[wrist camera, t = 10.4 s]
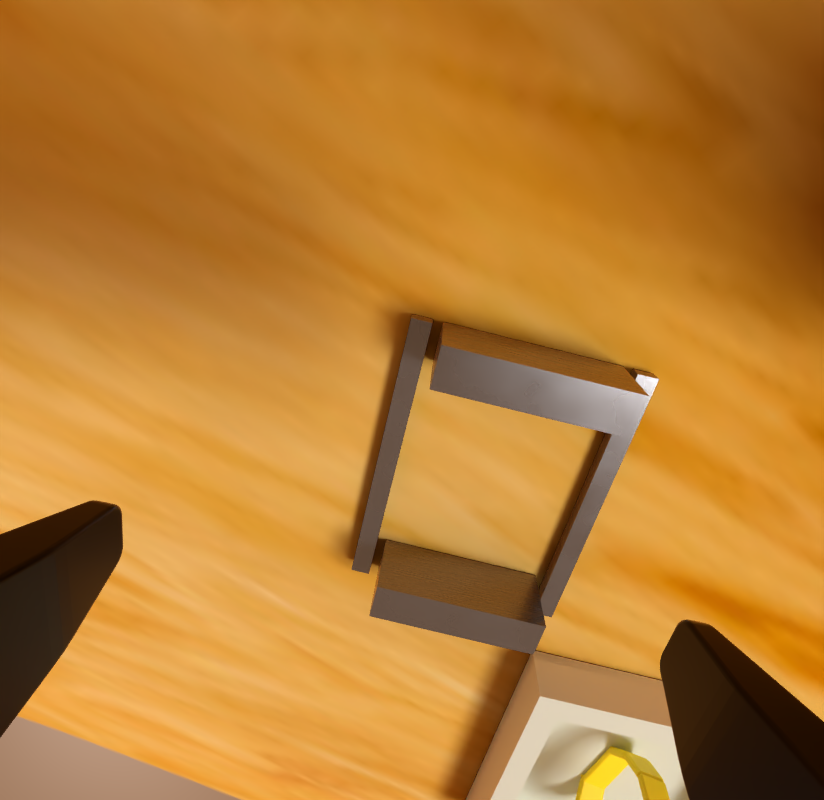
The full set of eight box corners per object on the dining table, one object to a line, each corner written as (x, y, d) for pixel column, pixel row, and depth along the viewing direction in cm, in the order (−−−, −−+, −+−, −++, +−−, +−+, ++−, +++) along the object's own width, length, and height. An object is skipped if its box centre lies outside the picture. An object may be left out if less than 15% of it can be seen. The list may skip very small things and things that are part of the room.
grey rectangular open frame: (653, 373, 20) (684, 404, 17) (549, 607, 25) (561, 661, 22) (412, 314, 20) (405, 335, 17) (354, 560, 25) (340, 609, 22)
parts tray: (775, 707, 26) (806, 758, 24) (670, 848, 31) (687, 901, 29) (532, 650, 26) (540, 696, 24) (465, 800, 31) (465, 851, 28)
